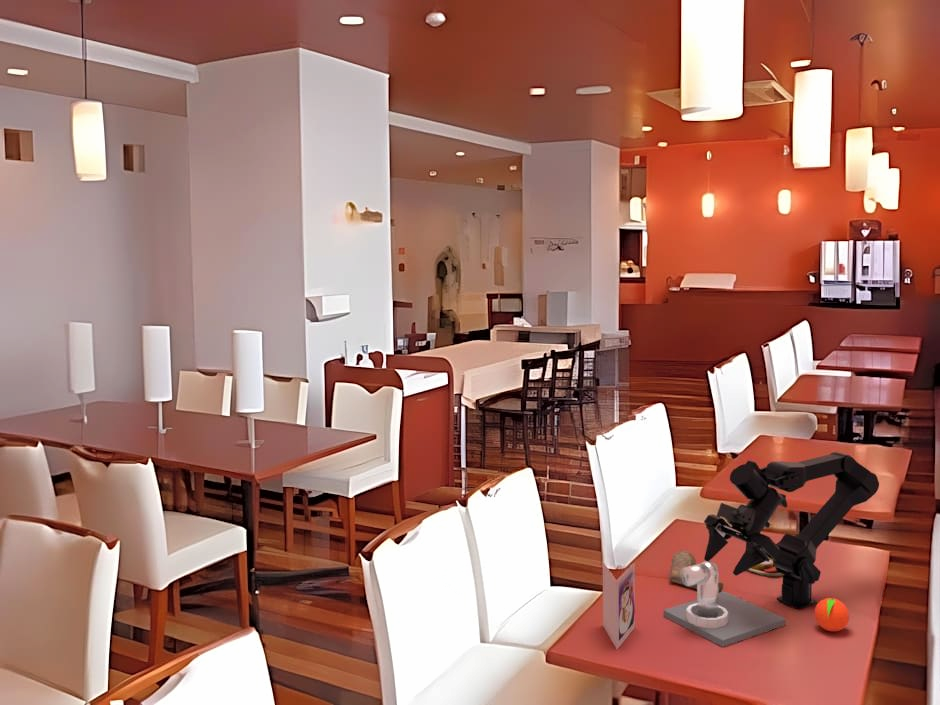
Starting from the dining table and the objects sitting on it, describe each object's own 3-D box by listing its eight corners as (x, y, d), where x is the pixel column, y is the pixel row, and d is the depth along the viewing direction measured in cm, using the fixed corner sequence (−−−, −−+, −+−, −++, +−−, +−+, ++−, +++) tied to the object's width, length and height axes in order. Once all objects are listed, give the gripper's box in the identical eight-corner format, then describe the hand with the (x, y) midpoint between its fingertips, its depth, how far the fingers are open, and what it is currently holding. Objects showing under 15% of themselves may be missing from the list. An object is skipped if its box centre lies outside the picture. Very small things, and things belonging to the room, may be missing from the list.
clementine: (845, 641, 182) (846, 609, 181) (810, 634, 186) (811, 603, 185) (851, 627, 189) (852, 595, 188) (817, 620, 192) (818, 589, 192)
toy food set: (801, 565, 225) (801, 553, 225) (789, 582, 214) (790, 570, 214) (749, 556, 232) (749, 544, 232) (735, 573, 221) (735, 560, 221)
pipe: (715, 580, 205) (735, 561, 211) (654, 563, 216) (675, 546, 223) (717, 604, 206) (737, 585, 213) (657, 586, 218) (677, 568, 225)
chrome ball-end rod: (708, 613, 194) (709, 556, 192) (722, 621, 190) (723, 563, 188) (679, 621, 190) (679, 563, 189) (692, 629, 186) (693, 570, 185)
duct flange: (724, 597, 206) (724, 583, 205) (785, 625, 190) (785, 610, 190) (663, 616, 197) (663, 601, 196) (722, 647, 181) (722, 631, 181)
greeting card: (620, 650, 181) (620, 581, 179) (587, 643, 185) (586, 575, 183) (638, 628, 191) (638, 563, 189) (606, 622, 195) (606, 557, 193)
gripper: (710, 479, 199) (671, 534, 196) (770, 500, 182) (729, 560, 179) (736, 507, 204) (699, 561, 200) (797, 530, 187) (757, 589, 184)
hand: (719, 567), depth 191 cm, fingers open, 9 cm apart
